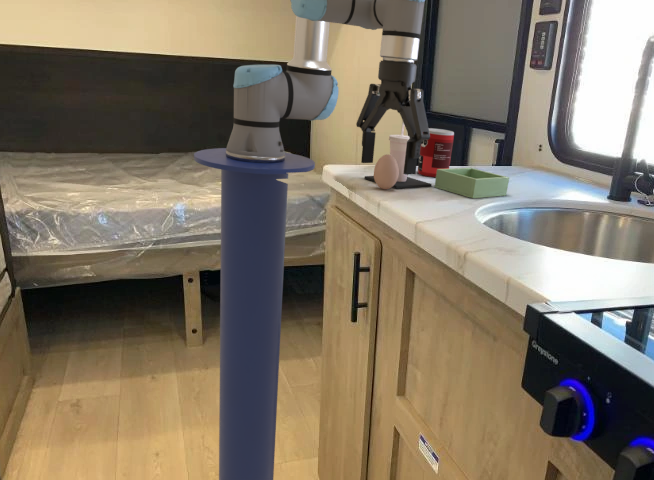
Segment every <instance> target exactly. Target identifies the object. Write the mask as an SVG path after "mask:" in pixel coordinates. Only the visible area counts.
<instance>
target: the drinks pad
mask: <svg viewBox="0 0 654 480" xmlns="http://www.w3.org/2000/svg"><path fill="white" fill-rule="evenodd" d="M364 179H365V180H367V181H370V182H373V183H376V182H375V180H374V175H365V176H364ZM432 185H433V184H432V183H431V182H426V181H423V180H420V179H416V178H413V177H409V176H407V180H406V181H405V182H399V181H397V182H396V183H395V184H394V186H393V187H391V188H392V189H396V190H399V189H400V190H403V189H415V188H416V189H417V188H429V187H431V188H432Z"/></svg>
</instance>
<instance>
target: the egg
mask: <svg viewBox="0 0 654 480" xmlns="http://www.w3.org/2000/svg"><path fill="white" fill-rule="evenodd" d="M398 175H399V168H398V164H397V162H396V160H395V158H394V157H393V156H391V155H390V153H389V154H388V153H387V154H384V155H382V156H380V157H379V158H378V160H377V161H376V163H375V165H374V169H373V176H374V180H375V182H374V183H375V184H376V185H377V186H378V188H380V189H382V190H389V189H391V188H392V187H393V186H394V184H395V183H396V182H397V179H398Z"/></svg>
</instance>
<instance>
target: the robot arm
mask: <svg viewBox="0 0 654 480" xmlns="http://www.w3.org/2000/svg"><path fill="white" fill-rule="evenodd" d="M425 1H426V0H290V3H291V5H290V6H291V7H290V8H291V10H292V13H293V14H294V15H295V26H294V40H293V41H294V42H293V43H294V44H293V57H292V59H291V60H289V61H288V62H287V63H286V71H284V70H283V68H282V67H283V66H282V65H280V64H247V65H241V66H238V67H237V68H236V69H235V71H234V78H233V79H234V80H233V127H232V130H231V133H230V135H229V139H228V142H227V145H226V147H225V148H226V157H228V158H230V159H233V160H238V161H244V162H252V163H279V162H283V161H285V153H286V152H285V147H284V144H283V141H282V137H281V132H280V121H281V119H285V120H307V121H311V122H313V121H324V120H326V119H328V118H329V117H330V116H331V115H332V114H333V112H334V111H335V108H336V107H337V103H338V99H339V86H338V85H339V83H338V80H337V78H336V77H335V76H334V75H332V71H333V70H332V69H333V68H332V67H331V66H330V65H329V62H328V50H329V49H328V47H329V38H330V25H331V24H330V23H333V24H340V25H346V26H354V27H360V28H362V29H366V30H371V31H375V30H381V29H382V32H381V39H380V40H381V41H380V50H379V57H380V58H382V60H380V61H379V63H378V75H377V78H378V80H379V81H380V83H369V86H368V93H367V96H366V98H365V101H364V104H363V106H362V108H361V111H360V114H359V116H358V118H357V120H356V123H355V124H356V128H359V129H361V132H362V136H361V138H362V139H361V147H362V148H361V149H362V150H361V151H362V152H361V160H360V161H361V164H373V163H374V154H375V143H376V134H377V133H376V130H375V128H376V127H377V125H378V124H379V122H380V121H381V120H382V119H383V117H384V115H385V114H386V112H387V111H389V110H393V111H397V113H398V114H399V116H400V117H401V121H403V122H404V128H405V130H406V132H407V136H409V137H410V139H409V140H408V141H407V146H406V155H405V164H404V173H403V174H405V175H416V173H417V167H418V159H419V156H420V148H421V142H422V141H424V140H429V139H430V133H429V123H428V119H427V113H426V109H425V103H424V89H422V88H412V87H413V86H412V84H414V83H415V82H416V76H417V68H418V65H417V63H415V61H418V56H419V50H420V49H419V48H420V39H421V31H422V25H423V24H422V23H423V17H424V8H425Z"/></svg>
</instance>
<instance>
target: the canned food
mask: <svg viewBox="0 0 654 480" xmlns="http://www.w3.org/2000/svg"><path fill="white" fill-rule="evenodd" d="M428 128H429V127H428ZM429 133H430V139H429V140H424V141H422V142H421V148H420V156H419V158H418V162H417V173H418V175H421V176H425V177H429V178H436V173H437V169H450V164H451V158H452V153H453V152H452V151H453V147H454V146H453V145H454V137H455V132H454V131H453V130H448V129H442V128H432V127H430V128H429Z"/></svg>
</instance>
